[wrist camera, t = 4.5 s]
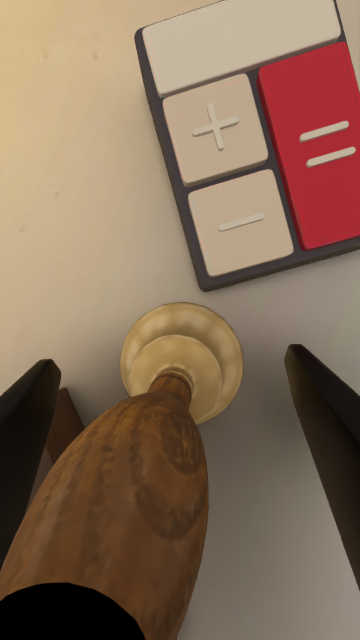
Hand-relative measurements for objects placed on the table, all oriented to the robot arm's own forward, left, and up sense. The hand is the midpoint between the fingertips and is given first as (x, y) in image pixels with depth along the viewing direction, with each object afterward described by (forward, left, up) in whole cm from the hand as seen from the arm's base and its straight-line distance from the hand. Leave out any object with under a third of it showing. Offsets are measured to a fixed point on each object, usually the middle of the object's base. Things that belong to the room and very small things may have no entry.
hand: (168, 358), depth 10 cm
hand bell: (-1, +1, -8) cm, 8 cm away
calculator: (+9, -9, -8) cm, 15 cm away
